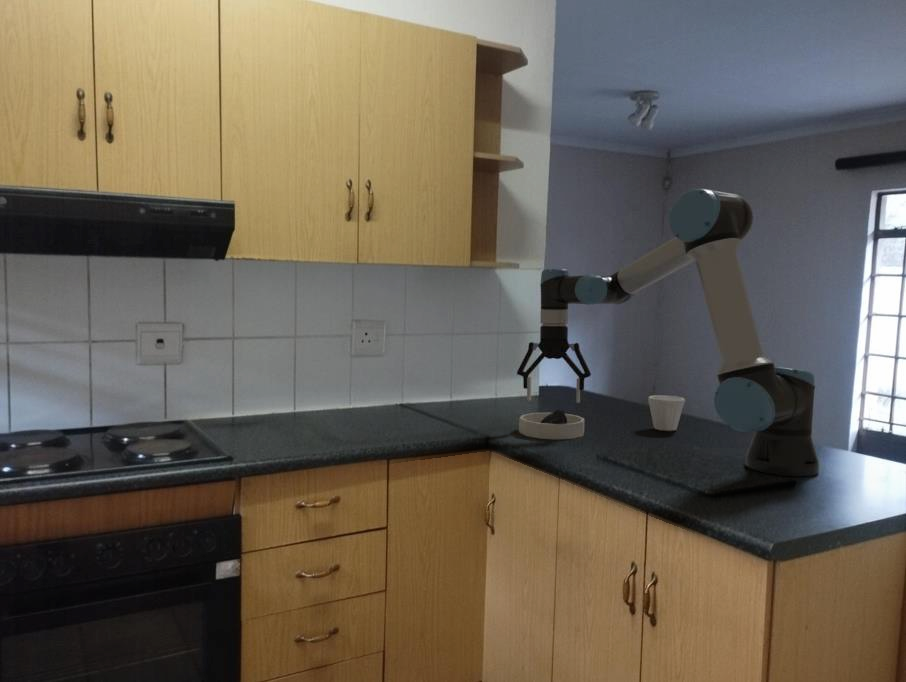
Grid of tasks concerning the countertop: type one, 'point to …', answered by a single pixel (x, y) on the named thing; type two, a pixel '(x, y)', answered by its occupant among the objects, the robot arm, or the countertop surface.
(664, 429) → the cup
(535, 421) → the bowl
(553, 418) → the rock
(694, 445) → the countertop surface
